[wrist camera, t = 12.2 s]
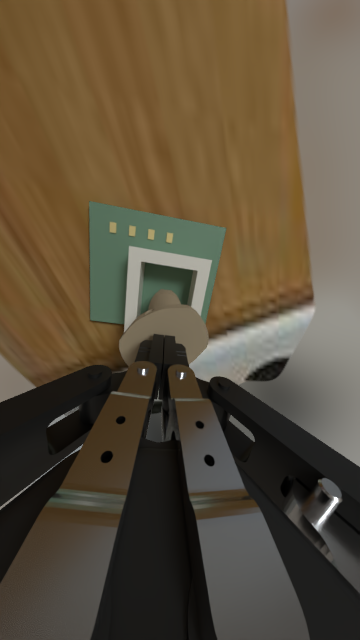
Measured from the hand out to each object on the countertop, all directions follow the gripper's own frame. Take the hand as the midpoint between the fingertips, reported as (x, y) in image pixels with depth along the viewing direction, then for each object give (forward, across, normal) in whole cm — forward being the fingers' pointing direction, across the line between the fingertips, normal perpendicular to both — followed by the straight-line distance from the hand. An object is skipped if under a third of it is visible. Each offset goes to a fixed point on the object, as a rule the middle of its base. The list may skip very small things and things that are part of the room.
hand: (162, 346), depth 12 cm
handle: (+16, 0, 0) cm, 16 cm away
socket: (+15, 0, -1) cm, 15 cm away
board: (+16, +2, -3) cm, 17 cm away
